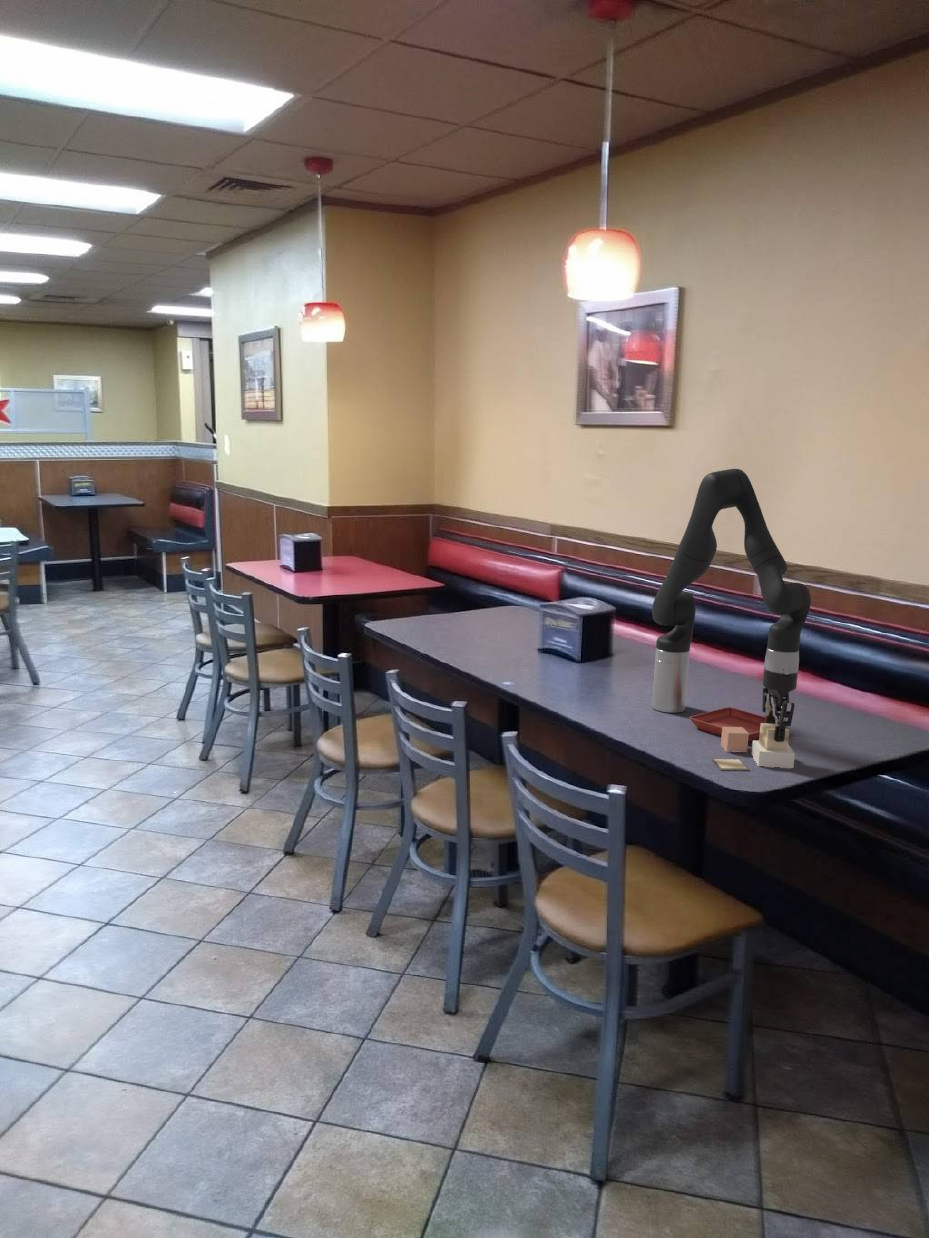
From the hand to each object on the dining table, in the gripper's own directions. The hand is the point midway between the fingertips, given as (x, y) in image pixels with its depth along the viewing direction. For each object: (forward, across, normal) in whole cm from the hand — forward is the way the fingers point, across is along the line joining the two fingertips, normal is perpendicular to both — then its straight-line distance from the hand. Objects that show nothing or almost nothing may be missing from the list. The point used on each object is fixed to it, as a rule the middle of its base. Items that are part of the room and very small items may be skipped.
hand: (774, 736), depth 219 cm
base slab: (+6, 0, 0) cm, 6 cm away
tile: (+6, +3, -11) cm, 13 cm away
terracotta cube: (+6, -8, -6) cm, 12 cm away
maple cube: (+2, 0, 0) cm, 2 cm away
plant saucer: (+7, -23, -1) cm, 24 cm away
